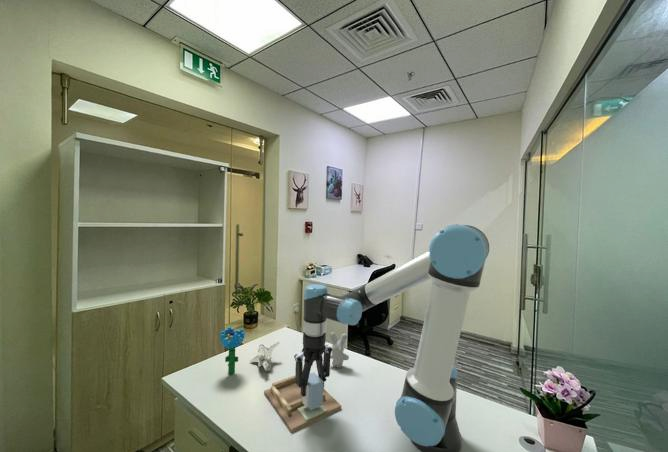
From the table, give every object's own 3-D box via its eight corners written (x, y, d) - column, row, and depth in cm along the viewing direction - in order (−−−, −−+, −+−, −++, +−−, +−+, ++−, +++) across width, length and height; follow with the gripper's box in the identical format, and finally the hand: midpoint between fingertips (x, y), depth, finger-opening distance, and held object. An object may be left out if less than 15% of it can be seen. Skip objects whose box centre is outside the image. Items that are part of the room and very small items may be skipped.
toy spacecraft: (274, 334, 123) (245, 353, 120) (276, 351, 108) (242, 374, 106) (283, 347, 125) (254, 367, 122) (286, 366, 110) (253, 389, 107)
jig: (341, 409, 92) (341, 400, 92) (291, 433, 81) (291, 423, 81) (308, 377, 110) (309, 370, 110) (264, 393, 99) (264, 385, 99)
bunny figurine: (349, 365, 120) (350, 332, 119) (347, 371, 115) (348, 337, 114) (328, 362, 122) (329, 329, 121) (325, 368, 117) (326, 334, 116)
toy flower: (234, 381, 105) (235, 336, 105) (214, 377, 108) (215, 333, 108) (247, 369, 114) (248, 327, 114) (229, 365, 117) (230, 324, 116)
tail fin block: (322, 405, 88) (323, 381, 88) (310, 410, 85) (311, 385, 85) (313, 394, 93) (313, 372, 93) (301, 399, 90) (302, 376, 90)
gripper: (329, 323, 97) (327, 386, 97) (285, 333, 87) (283, 404, 87) (342, 330, 91) (340, 398, 91) (296, 342, 80) (293, 419, 81)
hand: (312, 401), depth 89 cm, fingers closed on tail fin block, 4 cm apart
